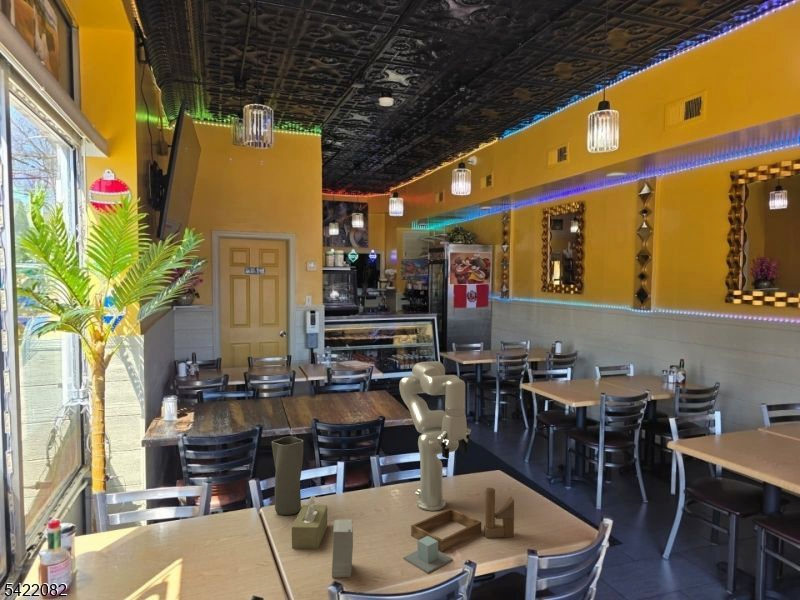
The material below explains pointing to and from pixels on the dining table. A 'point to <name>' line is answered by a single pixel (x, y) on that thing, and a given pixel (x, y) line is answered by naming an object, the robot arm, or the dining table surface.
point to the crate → (444, 544)
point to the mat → (425, 566)
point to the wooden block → (498, 516)
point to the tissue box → (309, 526)
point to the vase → (287, 474)
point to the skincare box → (342, 548)
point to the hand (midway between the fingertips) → (454, 454)
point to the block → (427, 549)
